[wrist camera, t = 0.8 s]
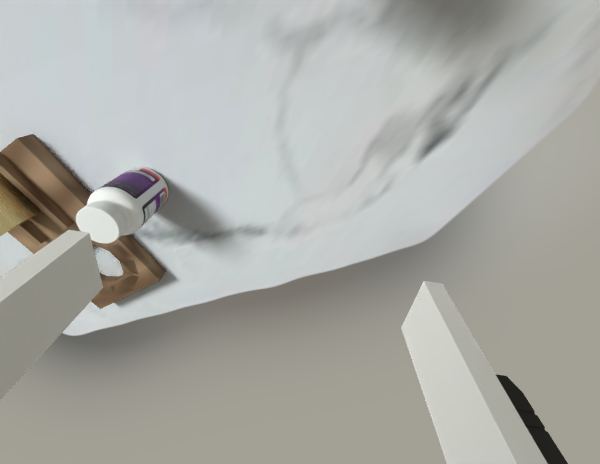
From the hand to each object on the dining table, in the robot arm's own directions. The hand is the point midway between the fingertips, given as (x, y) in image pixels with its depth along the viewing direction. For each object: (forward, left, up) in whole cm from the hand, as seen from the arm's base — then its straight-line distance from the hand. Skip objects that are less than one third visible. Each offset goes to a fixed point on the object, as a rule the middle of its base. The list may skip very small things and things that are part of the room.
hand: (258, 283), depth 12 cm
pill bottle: (-4, -18, -24) cm, 30 cm away
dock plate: (-4, -31, -24) cm, 39 cm away
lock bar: (-11, -31, -21) cm, 39 cm away
